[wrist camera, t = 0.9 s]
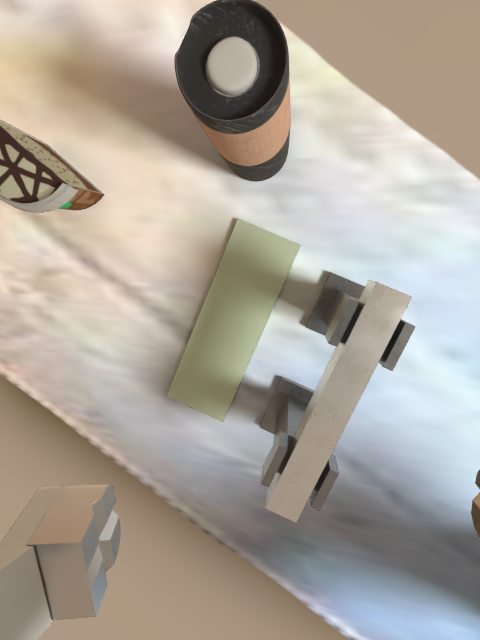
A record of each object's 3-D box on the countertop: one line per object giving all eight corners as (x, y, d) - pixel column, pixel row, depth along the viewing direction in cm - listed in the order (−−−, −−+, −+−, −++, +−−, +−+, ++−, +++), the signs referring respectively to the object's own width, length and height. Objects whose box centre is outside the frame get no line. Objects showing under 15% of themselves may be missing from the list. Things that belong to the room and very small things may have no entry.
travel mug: (298, 172, 44) (303, 100, 24) (234, 192, 45) (191, 140, 26) (280, 104, 43) (272, -27, 24) (216, 127, 44) (157, 21, 25)
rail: (401, 293, 33) (412, 296, 30) (295, 502, 37) (296, 522, 34) (368, 279, 33) (376, 281, 30) (267, 489, 37) (265, 508, 34)
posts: (386, 296, 45) (433, 312, 30) (310, 447, 49) (319, 528, 34) (330, 272, 45) (349, 277, 30) (260, 424, 49) (247, 494, 34)
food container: (11, 176, 49) (-59, 155, 39) (38, 136, 47) (-28, 103, 38) (85, 241, 49) (33, 236, 39) (113, 202, 47) (67, 187, 38)
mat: (300, 245, 45) (300, 245, 45) (223, 420, 50) (222, 421, 49) (238, 219, 46) (237, 218, 45) (167, 394, 50) (166, 396, 50)
